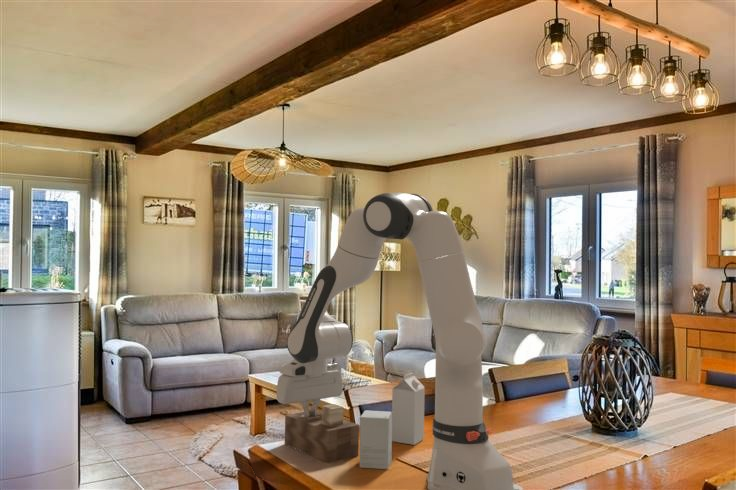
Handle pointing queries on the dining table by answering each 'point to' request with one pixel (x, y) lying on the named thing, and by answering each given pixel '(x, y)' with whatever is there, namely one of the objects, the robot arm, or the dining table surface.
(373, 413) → the supplement box
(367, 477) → the dining table surface
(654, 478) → the dining table surface
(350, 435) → the walnut block
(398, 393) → the milk carton
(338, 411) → the birch peg near
